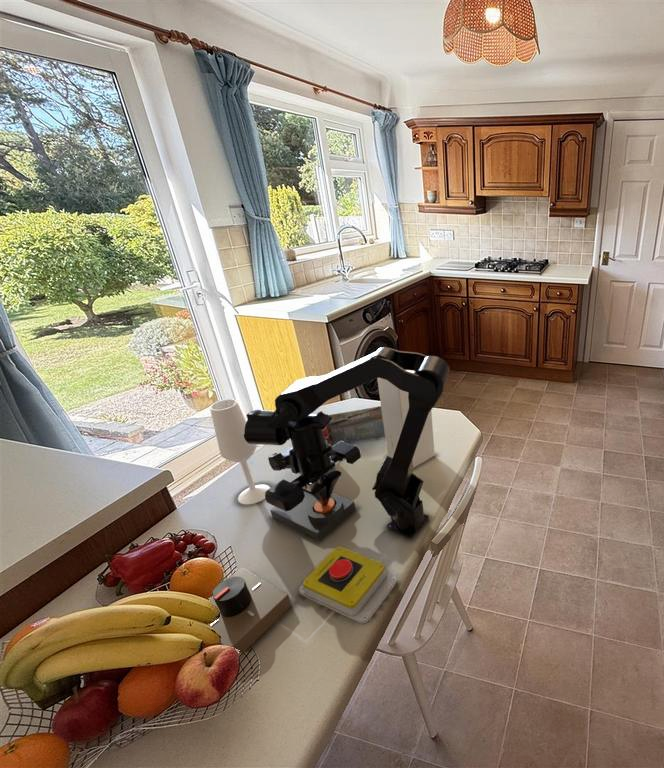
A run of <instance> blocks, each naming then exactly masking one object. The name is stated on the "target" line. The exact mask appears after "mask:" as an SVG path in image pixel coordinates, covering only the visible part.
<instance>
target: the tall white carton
mask: <svg viewBox="0 0 664 768" xmlns="http://www.w3.org/2000/svg"><path fill="white" fill-rule="evenodd" d="M406 371H408V372H411V373H414V372H415V371H413V370H406ZM376 380H377V387H378V394H379V401H380V406H381V410H382V417H383V424H384V432H385V436H384V439H385V444H386V452H387V453H386V454H387V456H389V457H391V458H393V456H394V452H395V449H396V446H397V443H398V440H399V437H400V434H401V431H402V428H403V425H404V422H405V419H406V416H407V413H408V409H409V401H408V394H409V393H408V392H405V391H402V390H400V389H398V388H397V387H396V386H394V385H393V384H392V383H390V382H389V381H387V380H385V379H382V378H377V379H376ZM434 439H435V438H434V428H433V413H432V410H431V411H430V412H429V414H428V417H427V420H426V423H425V426H424V428H423V431H422V434H421V437H420V440H419V443H418V445H417V448H416V451H415V454H414V457H413V469H414V468H416V467H418V466H419V465H421V464H423V463H424V462H426V461H428V460H430V459H431V458H433V457H435V456H436V454H435V441H434Z"/></svg>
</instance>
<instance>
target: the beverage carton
mask: <svg viewBox="0 0 664 768" xmlns="http://www.w3.org/2000/svg"><path fill="white" fill-rule="evenodd" d="M328 415H329V416H331V417H332V420H331V421H330V422H329V424H328V425H327V426H326V427H327V431H328V436H329V441H330V445H331V447H332V446H334V445H335V444H337V443H338V442H340V441H343V442H346V443H353V442H359V441H363V440H369V439H373V438H379V437H385V432H384V424H383V417H382V410H381V405H380V406H374V407H368V408H362V409H357V410H351V411H345V412H339V413H334V414H328Z"/></svg>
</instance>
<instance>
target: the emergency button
mask: <svg viewBox="0 0 664 768" xmlns="http://www.w3.org/2000/svg"><path fill="white" fill-rule="evenodd" d="M397 582H398V580H397V577H396V575H393V574H392V573H388V572H387V570H386V566H385V564H384V563H382V562H380V561H377V560H375V559H372V558H370V557H368V556H365V555H363V554H360V553H358V552H355V551H353V550H350V549H348V548H345V547H343V546H336V547H335V548H334V549H333V550H332V551H331V552H329V554H328V555H327V556H326V557H325V558H324V559H323V560H322V561H321V562H320V563H319V564H318V565H317V566H316V567H315V568H314V569H313V570H312V572H310V574H309V575H307V577H305V579H304V580H303V583H302V584H301V585H300V587H299V588H298V591H299V594H300V595H301V596H302V597H305V598H307V599H308V600H311V601H313V602H315V603H317V604H319V605H321V606H323V607H326V608H327V609H330V610H332V611H334V612H335V613H338V614H339V615H342V616H344V617H347V618H348V619H350V620H353V621H354V622H357V623H358V624H367V623H368V622H369V621H370V620H371V619H372V617H373V616H374V614H375V613H376V612H377V611H378V609H379V608H380V606H381V605H382V604H383V602H384V601H385V600H386V598H387V597H388V596H389V594H390V593H391V591H392V590H393V589H394V588H395V586H396V585H397Z"/></svg>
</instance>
